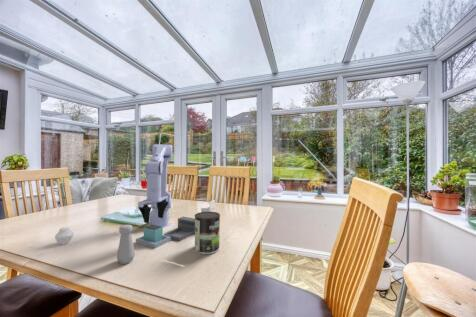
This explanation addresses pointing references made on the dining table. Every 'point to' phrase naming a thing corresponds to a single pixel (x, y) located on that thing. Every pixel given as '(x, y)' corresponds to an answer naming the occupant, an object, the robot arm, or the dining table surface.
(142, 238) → the tray
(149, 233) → the teal block grey face
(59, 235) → the muffin
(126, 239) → the salt shaker
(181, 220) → the bay
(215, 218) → the coffee can
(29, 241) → the dining table surface
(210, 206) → the ink cartridge box
